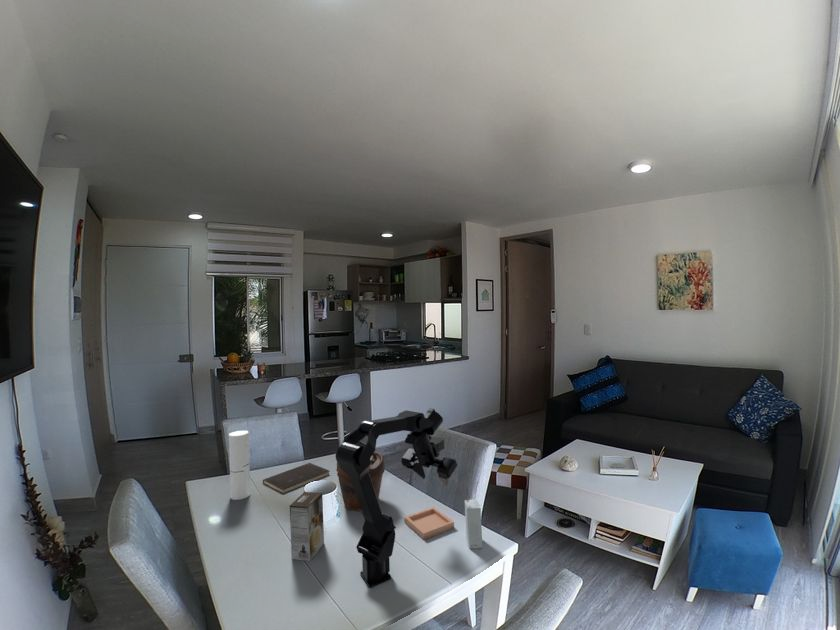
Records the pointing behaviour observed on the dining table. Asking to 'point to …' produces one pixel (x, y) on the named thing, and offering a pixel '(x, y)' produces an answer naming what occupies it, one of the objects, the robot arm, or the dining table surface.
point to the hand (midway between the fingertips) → (435, 481)
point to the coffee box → (306, 526)
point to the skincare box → (473, 523)
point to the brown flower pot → (347, 487)
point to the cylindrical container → (239, 464)
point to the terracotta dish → (429, 523)
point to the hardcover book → (296, 477)
